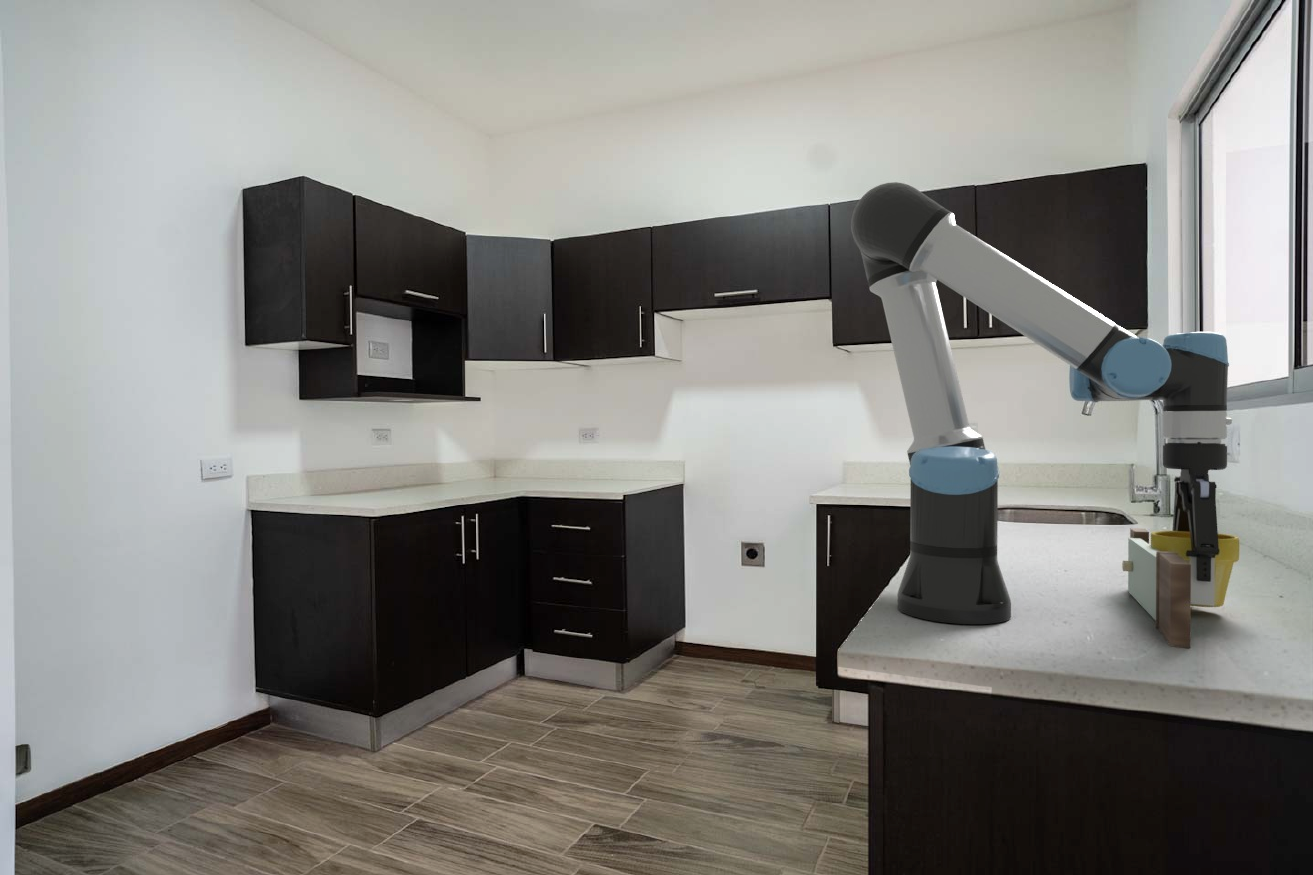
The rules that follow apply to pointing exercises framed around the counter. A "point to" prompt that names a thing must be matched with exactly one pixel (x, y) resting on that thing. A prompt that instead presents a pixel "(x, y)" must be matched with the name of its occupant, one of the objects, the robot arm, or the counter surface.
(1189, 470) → the robot arm
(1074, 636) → the counter surface
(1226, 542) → the plant pot
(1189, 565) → the door frame
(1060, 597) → the counter surface
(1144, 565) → the door leaf
